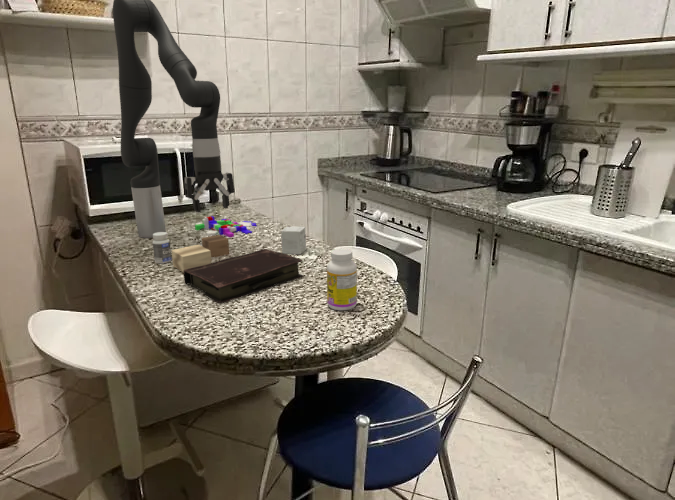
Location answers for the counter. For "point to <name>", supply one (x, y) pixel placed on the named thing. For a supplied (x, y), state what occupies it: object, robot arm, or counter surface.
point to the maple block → (190, 257)
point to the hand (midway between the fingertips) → (212, 210)
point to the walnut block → (216, 245)
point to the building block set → (224, 226)
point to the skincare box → (293, 240)
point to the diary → (243, 274)
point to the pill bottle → (161, 247)
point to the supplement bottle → (341, 280)
